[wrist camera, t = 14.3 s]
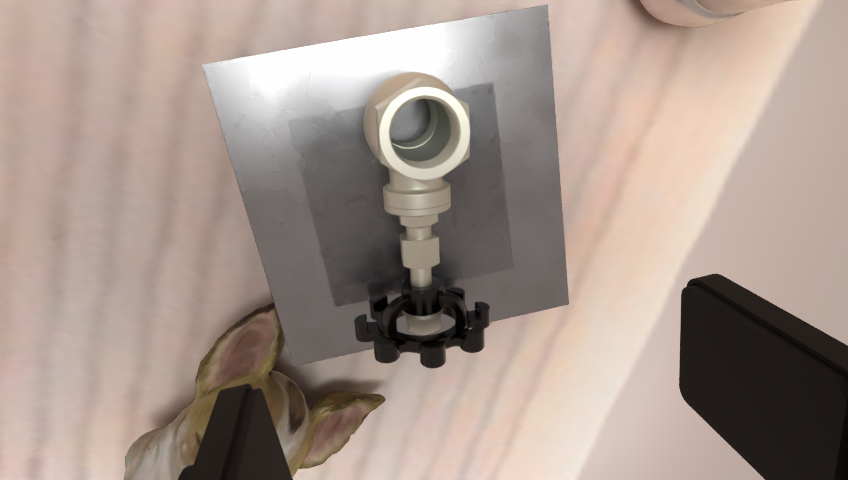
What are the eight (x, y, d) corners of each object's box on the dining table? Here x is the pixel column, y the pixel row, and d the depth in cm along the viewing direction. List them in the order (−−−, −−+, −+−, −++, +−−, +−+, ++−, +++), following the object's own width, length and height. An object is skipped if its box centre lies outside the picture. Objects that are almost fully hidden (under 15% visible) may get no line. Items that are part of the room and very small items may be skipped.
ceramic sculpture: (17, 542, 23) (264, 341, 23) (93, 423, 32) (277, 272, 31) (193, 640, 27) (407, 470, 27) (220, 512, 35) (385, 379, 35)
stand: (299, 330, 32) (293, 366, 28) (222, 64, 26) (202, 64, 22) (543, 276, 33) (568, 304, 29) (519, 12, 27) (547, 4, 24)
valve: (330, 74, 23) (354, 307, 27) (326, 78, 17) (357, 378, 21) (470, 67, 24) (473, 294, 28) (514, 68, 18) (509, 359, 22)
